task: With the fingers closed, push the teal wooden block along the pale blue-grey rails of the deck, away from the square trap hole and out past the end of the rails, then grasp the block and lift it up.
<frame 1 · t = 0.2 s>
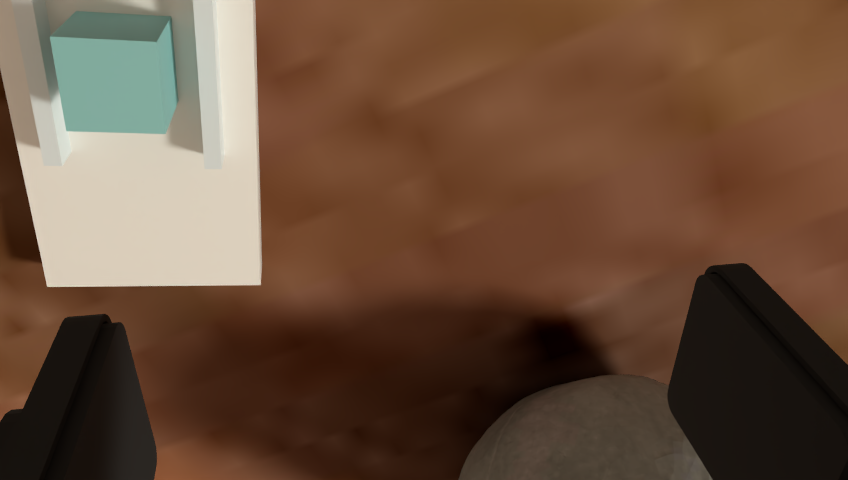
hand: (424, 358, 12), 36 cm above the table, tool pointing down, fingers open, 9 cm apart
ceramic pot: (560, 422, 67), on the table
deck: (141, 77, 44), on the table
block: (129, 57, 41), point 2 cm above the table, touching deck
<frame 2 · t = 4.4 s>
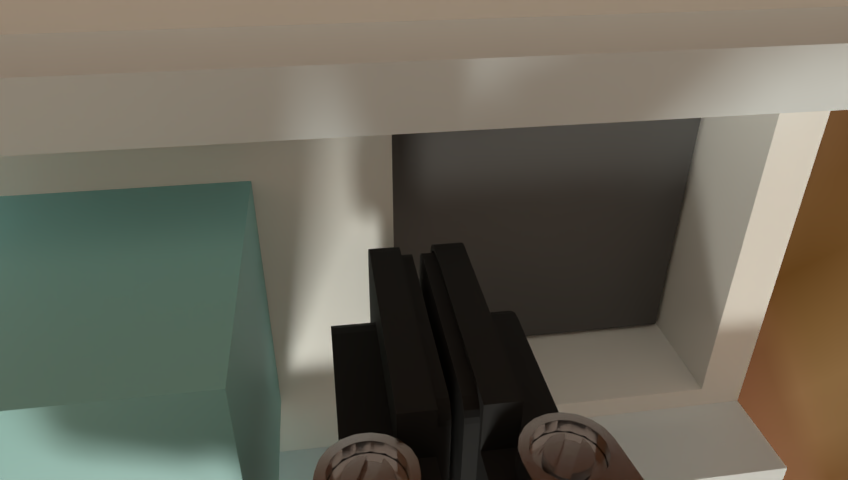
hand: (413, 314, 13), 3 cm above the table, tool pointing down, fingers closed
deck: (93, 244, 15), on the table
block: (126, 313, 13), point 3 cm above the table, touching deck, gripper
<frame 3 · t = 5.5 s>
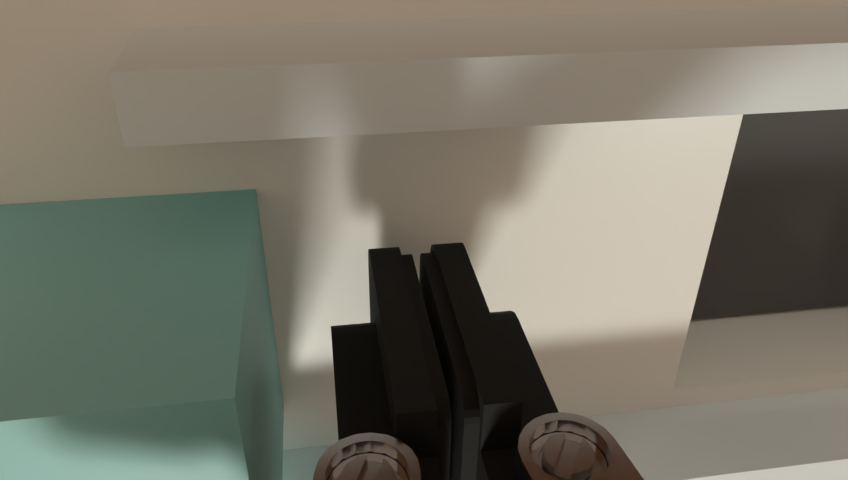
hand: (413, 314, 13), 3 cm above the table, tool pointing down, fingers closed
deck: (395, 221, 16), on the table
block: (131, 319, 13), point 3 cm above the table, touching gripper
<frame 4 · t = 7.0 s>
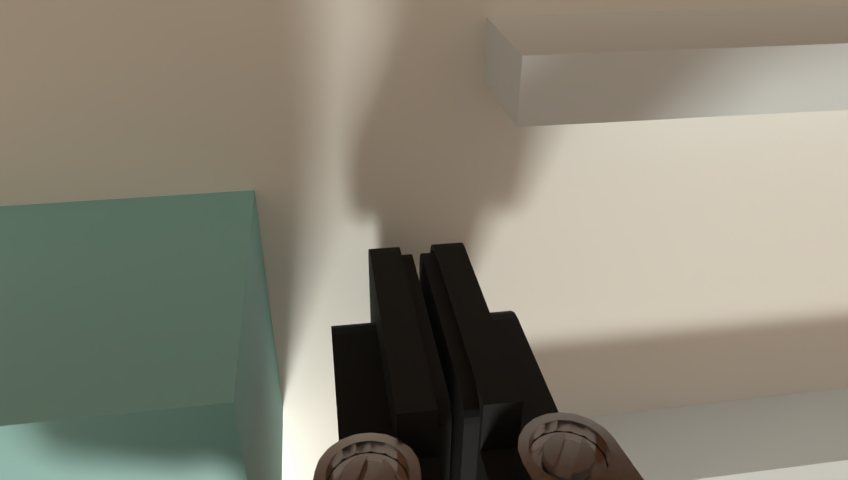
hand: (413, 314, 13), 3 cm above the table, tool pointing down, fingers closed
deck: (619, 206, 16), on the table
block: (129, 321, 13), point 2 cm above the table, touching deck, gripper
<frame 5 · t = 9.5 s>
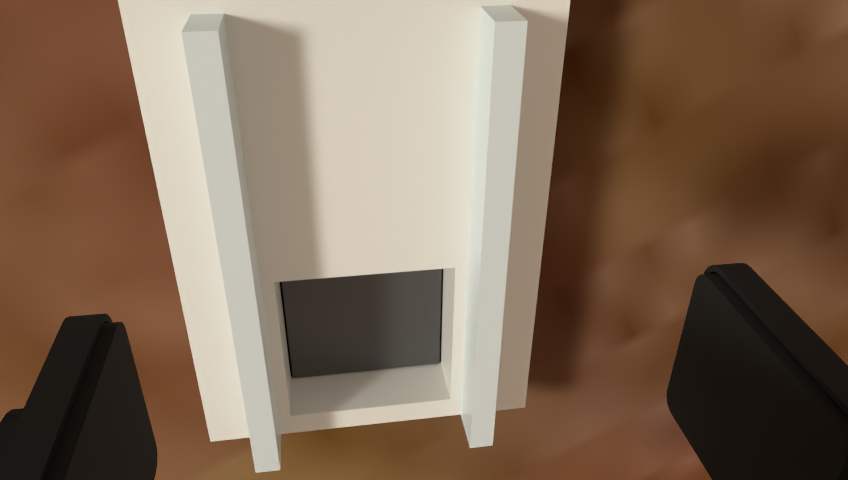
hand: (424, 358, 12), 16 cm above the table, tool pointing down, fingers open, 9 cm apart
deck: (355, 103, 26), on the table
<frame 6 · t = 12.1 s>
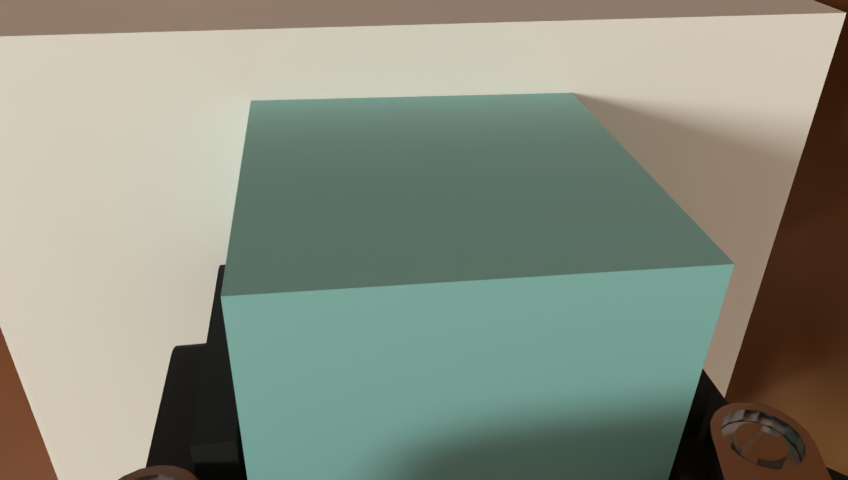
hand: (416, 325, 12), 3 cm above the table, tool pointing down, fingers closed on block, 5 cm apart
block: (412, 235, 12), point 3 cm above the table, touching deck, gripper
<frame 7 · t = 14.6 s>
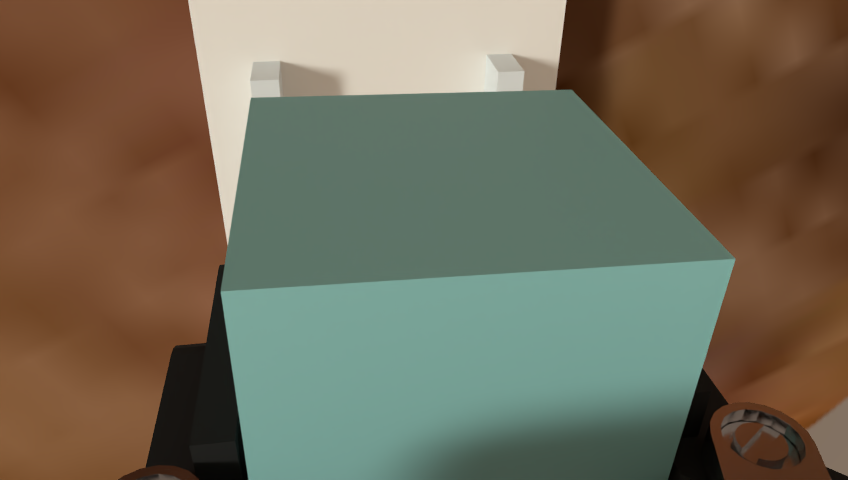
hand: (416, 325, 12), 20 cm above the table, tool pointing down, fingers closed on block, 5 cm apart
deck: (380, 127, 32), on the table
block: (413, 232, 12), point 19 cm above the table, touching gripper
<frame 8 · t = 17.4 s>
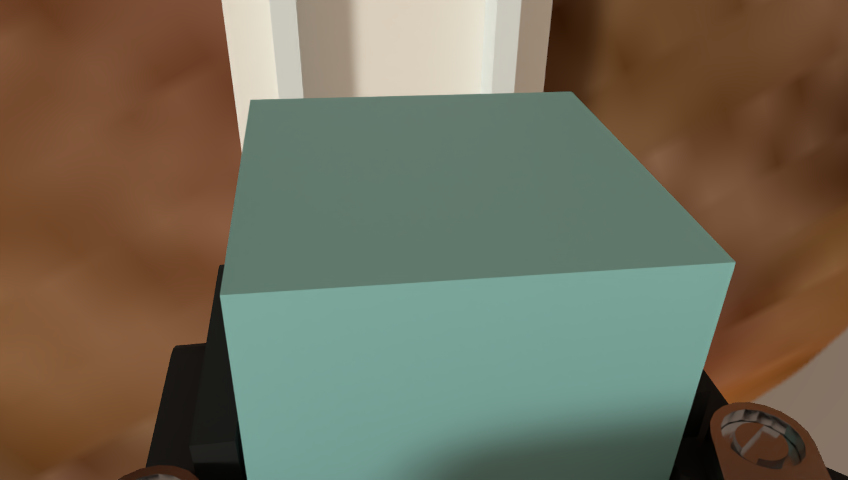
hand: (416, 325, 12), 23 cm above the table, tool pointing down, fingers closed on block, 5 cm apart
deck: (387, 47, 33), on the table
block: (413, 234, 12), point 23 cm above the table, touching gripper
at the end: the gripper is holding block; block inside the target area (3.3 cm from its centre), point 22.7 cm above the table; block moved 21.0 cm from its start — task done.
